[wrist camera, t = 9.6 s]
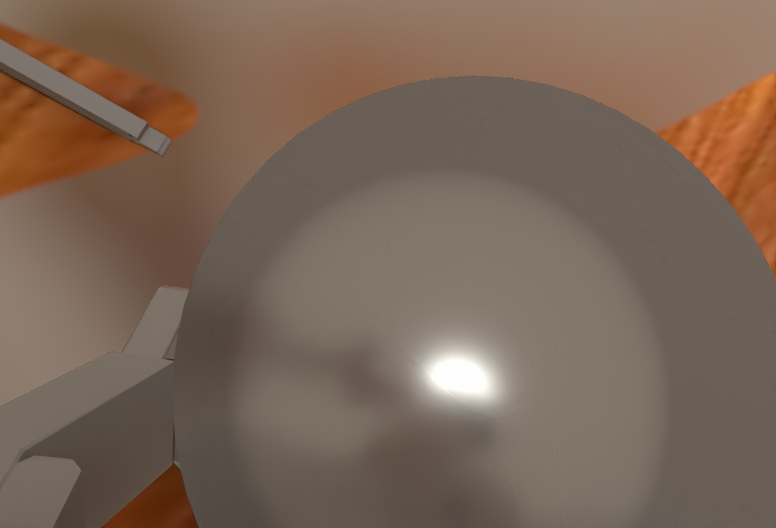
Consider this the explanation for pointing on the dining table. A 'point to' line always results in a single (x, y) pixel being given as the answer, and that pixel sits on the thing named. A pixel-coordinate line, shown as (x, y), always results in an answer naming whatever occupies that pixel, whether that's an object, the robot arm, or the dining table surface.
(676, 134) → the dining table surface
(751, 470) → the pin
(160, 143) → the caliper
